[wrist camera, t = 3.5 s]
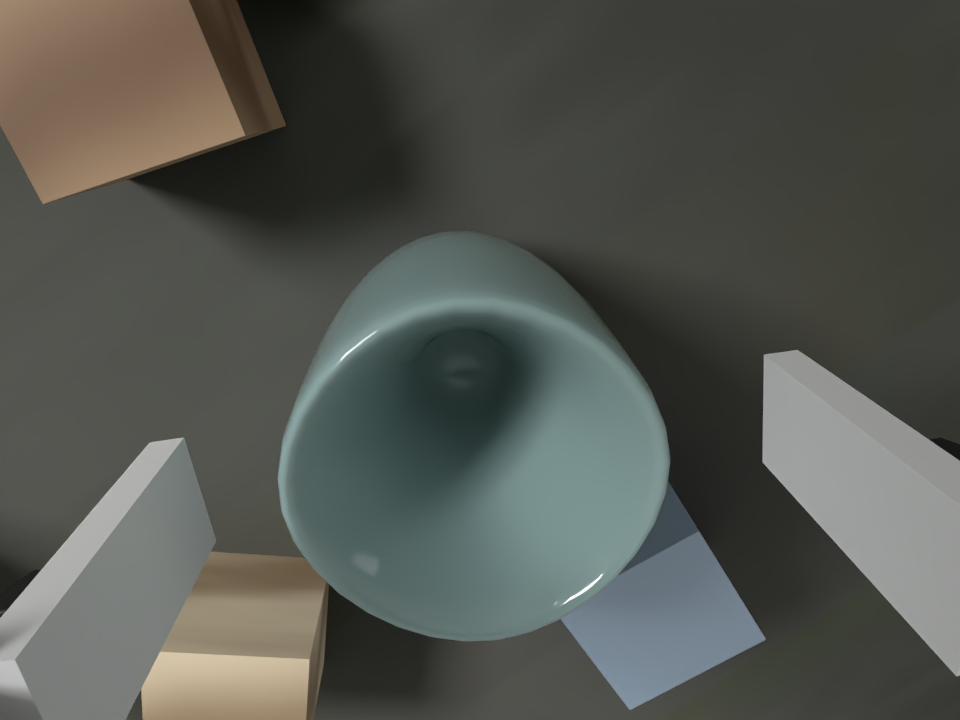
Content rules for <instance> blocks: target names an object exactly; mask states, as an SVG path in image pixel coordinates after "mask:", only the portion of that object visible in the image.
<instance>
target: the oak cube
mask: <svg viewBox="0 0 960 720" xmlns="http://www.w3.org/2000/svg"><path fill="white" fill-rule="evenodd" d="M328 594H329V584H328V583H327V582H326V581H325V580H324V579H323V578H322V577H321V576H320V575H319V574H318V573H317V572H316V571H315V570H314V569H313V568H312V567H311V566H310V564H309V563H308V561H307V560H306V558H300V557H285V556H269V555H254V554H239V553H223V552H210V554H209V556H208V558H207V560H206V562H205V564H204V566H203V568H202V570H201V572H200V574H199V576H198V578H197V580H196V582H195V584H194V586H193V588H192V590H191V592H190V594H189V596H188V598H187V600H186V601H185V603H184V605H183V607H182V609H181V611H180V613H179V615H178V617H177V619H176V621H175V623H174V625H173V627H172V629H171V631H170V633H169V635H168V637H167V639H166V641H165V643H164V645H163V647H162V649H161V651H160V653H159V655H158V657H157V659H156V661H155V663H154V665H153V667H152V668H151V670H150V672H149V674H148V676H147V678H146V680H145V682H144V684H143V686H142V688H141V694H142V714H143V720H314V714H315V709H316V703H317V698H318V693H319V687H320V682H321V677H322V671H323V666H324V654H325V639H326V624H327V609H328Z"/></svg>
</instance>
